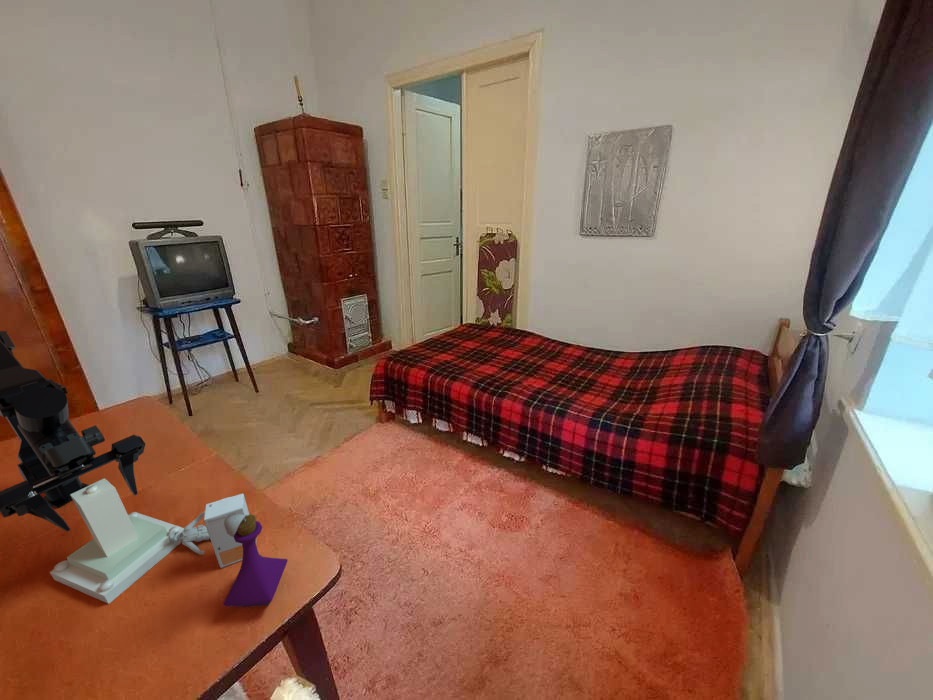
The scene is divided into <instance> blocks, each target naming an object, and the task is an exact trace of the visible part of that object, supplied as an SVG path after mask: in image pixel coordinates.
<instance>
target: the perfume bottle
mask: <svg viewBox="0 0 933 700" xmlns="http://www.w3.org/2000/svg"><path fill="white" fill-rule="evenodd" d="M224 526H225V529H226V531H227V534H229V535H230V536H232V537H234V539H235V541H236V542H238V543H242V546H243V559H242V560H241V565H240V568H239V571H238V572H237V575H236V577H235V579H234V581H233V583H232V585H231V587H230V589H229V591H228V593H227V595H226V596H225V597H226V598H225V599H224V600H223V603H222V606H224V607H233V608H234V607H235V608H237V607H238V608H249V607H250V608H251V607H261V606H262V607H263V606H269V605H270V604H271V603H272V601H273V599H274V597H275V595H276V591H277V589H278V587H279V584H280V582H281V579H282V576H283V574H284V572H285V569H286V566H287V563H288V559H287V558H279V557H278V558H276V557H267V556H263V555H261V554H260V553H259V550H258V546H257V537H258V536H259V535H260V534H261V533H262V529H263V525H262V524H261V522H260V521H257V517H256V515H255V514H250V513H249V515H247V516H246V515H245V514H237V515H231V516H228V517H226V519H225V520H224Z"/></svg>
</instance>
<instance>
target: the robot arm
mask: <svg viewBox="0 0 933 700" xmlns="http://www.w3.org/2000/svg"><path fill="white" fill-rule="evenodd" d="M15 350H16V345H15V344H14V342H13V340H12V339H11V337H10V335H9V333H8V332H7V331H5V330H0V416H1V417H2V418H5V420H7V422H8V424H9V425H10V427H11V428H12V430H13V432H14V433H15V434H16V436H17V438H18V439H19V441H20V445H19V450H18V453H17V459H18V460H19V461H20V463H17V464H16V465H17V468H18V471H19V473H20V475H21V476H22V479H23V481H21V482H18V483H16V484H14V485H12V486H9V487H7V488H5V489H3V490H0V515H2V517H3V518H8V517H11V516H13V515H15V514H16V515H17V516H18V517H21V516H25V515H26V514H29V515H32V516H35V517H38V518H40V519H42V520H45V521H47V522H49V523H50V524H52V525H54V526H56V527H57V528H59V529H61V530H63V531H65V532H70V531H71V528H70V526H69V525H68V523H67V522H66V520H64V518H63V517H62V516H60V514H58V513H57V511H56V510H55V509H54V508H56V509H57V508H58V509H59V508H61V507H63V506H64V505H66V504H67V503H69V502H72V501H73V499H72V497H71V496H70V494H72V493H74V492H77V491H79V490H81V489H83V488H85V487H87V486H89V485H90V484H88V483H87V484H86V483H83V482H82V481H81V479H80V477H81V476H83V475H85V474H87V473H90V472H92V471H94V470H96V469H99V468H101V467H103V466H106V465H107V464H110V463H112V462H113V461H115V462H117V463H118V466H117V468H118V470H119V472H120V474H121V475H122V477H123V481H124V482H125V483H126V486H127V487H128V489H129V491H130V492H131V493H132V495H133V496H134V497H135V496H137V495H138V488H137V483H136V478H135V472H134V464H135V463H136V462H138V461H139V456H141V455H142V454H144V453H145V448H146V442H145V441H144V440H143V438H142V437H141V436H140V435H137V434H132V435H129V436H127V437H125V438H122V439H120V440H117V441H116V442H113V443H111V449H110V450H109V451H107V452H104V453H102V454H100V455H98V456H95V455H96V451H95V449H94V446H96V445H99V444H101V443H104V442H105V441H106V439H105V437H104V435H103V433H102V432H101V430H100V429H99V428H98V426H97V425H93V426H91V427H88V428H85V429H83V430H81V431H80V432H81V435H82V436H81V435H80V433H79V432H78V431H77V429H76V428H75V427H74V425H73V423H72V422H71V420H70V419H69V417H70V416H69V414H70V413H69V404H68V402H69V401H68V396H67V394H68V391H67V388H66V387H65V386H63V385H62V384H60V383H59V382H56V381H54V380H53V379H52V378H46V377H45V376H44V375H43V374H42V373H41V372H40V371H39V370H38V369H32V368H25V367H24V366H23V365H22V364H21V363H20V361H19V360H18V359H17V358H16V356H15V355H14V353H13V351H15ZM41 494H44V496H43V495H41ZM53 507H54V508H53Z"/></svg>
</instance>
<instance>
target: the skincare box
mask: <svg viewBox="0 0 933 700" xmlns="http://www.w3.org/2000/svg"><path fill="white" fill-rule="evenodd" d="M204 511H205V515H204V516H203V517H204V518H203V522H204V526H206V528H207V531H208V534H209V537H210V539H209V540H210V542H211V544H212V548H213V550H214V554H215V557H216V559H217V562H218V565H219V567H220V568H221V569H222V568H225V567H227V566H230V565H232V564H235V563H238V562H242V559H243V546H242V543H238V542H236V541H235V539H234V537H232V536H230V535H229V534H227V531H226V529H225V526H224V520H225V519H226V517H228V516H231V515H237V514H245V515H246V516H247V515H250V512H249V508H248V505H247V501H246V498H245V495H244V493H239V494H236V495H233V496H228V497H224V498H222V499H219V500H216V501H213V502H209V503H206V504H205V508H204Z"/></svg>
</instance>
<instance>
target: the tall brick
mask: <svg viewBox="0 0 933 700" xmlns="http://www.w3.org/2000/svg"><path fill="white" fill-rule="evenodd" d="M88 485H89V486H87V487H85V488H83V489H81V490H79V491H77V492H74V493H72V494H70V496H71V497H72V499H73V500H72V502H73V503H74V504H75V507H76V508H77V510H78V512H79V514H80V516H81V517H82V519H83V523H85V525H86V527H87V529H88V531H89V533H90V534H91V537H92V539H94V540H95V542H96V544H97V546H98V547H99V548H100V549H101V550H102V551H103V552H104V554H105V555H106V556H107V557H108V556H110V555H111V554H113V553H115V552H116V551H118V550H120V549H121V548H123V547H125V546H126V545H128V544H129V543H131V542H133V541H134V540H136V539H138V538H139V537H138V535H137V533H136V531H135V529H134V527H133V525H132V522H131V520H130V518H129V516H128V515H129V514H128V512H127V510H126V508H125V505H124V504H123V501H122V499H121V498H120V495H119V493H118V491H117V489H116V487H115V486H114V485H113V484H111V482H109V481H108V480H107V479H106V478H102V479H100V480H98V481H95V482H94V483H92V484H88Z"/></svg>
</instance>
